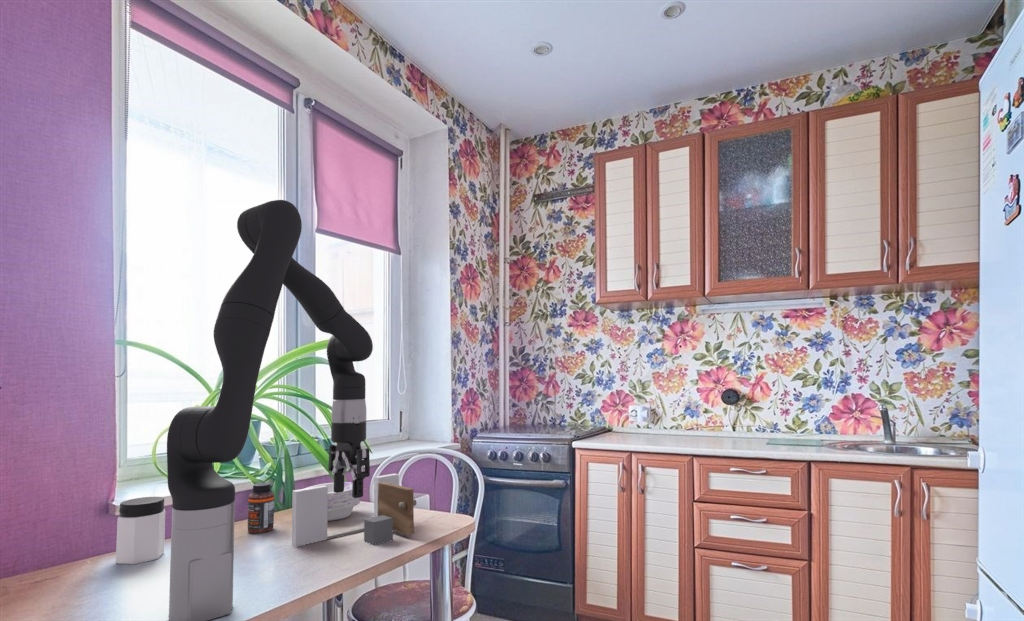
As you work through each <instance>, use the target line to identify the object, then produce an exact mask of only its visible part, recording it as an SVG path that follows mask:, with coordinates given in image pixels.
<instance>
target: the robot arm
mask: <svg viewBox="0 0 1024 621" xmlns="http://www.w3.org/2000/svg"><path fill="white" fill-rule="evenodd" d="M302 224H303V223H302V218H301V215H300V212H299V210H298V209H297V207H296V206H295V205H294V204H293V203H291V202H290V201H288V200H284V199H275V200H271V201H266V202H264V203H262V204H258V205H256V206H253V207H250V208H247V209H246V210H243V211H242V212H241V213H240V215H239V216H238V218H237V222H236V228H237V233H238V235H239V237H240V239H241V240H242V242H243V243H244V244H245V246H246V247H247V248H248V249H249V251H250V252H251V253H252V254H253V255H252V257H251V259H250V260H249V262H248V264H247V265H246V266H245V268H243V270H242V272H241V273H240V274H239V275H238V276H237V278H236V279H235V280H234V282H233V283H232V284H231V286H230V287H229V288H228V290H227V291H226V294H225V295H224V297H223V299H222V302H221V305H220V307H219V310H218V313H217V315H216V316H217V318H216V319H215V324H214V327H213V341H214V345H215V349H216V352H217V355H218V358H219V360H220V364H221V367H222V376H223V378H222V384H221V389H220V393H219V396H218V398H217V399H218V400H217V402H216V405H214V406H212V405H211V406H189V407H185V408H183V409H181V410H179V411H178V412H177V413H176V414H175V415H174V417H172V418H173V419H172V420H171V422H170V425H169V427H168V431H167V435H166V436H167V438H166V462H167V463H166V466H167V467H166V470H167V487H168V492H169V494H170V496H171V502H172V505H171V506H172V508H171V531H170V533H171V534H170V535H171V538H170V562H169V564H170V565H169V568H170V570H169V601H168V603H169V604H168V605H169V606H168V620H169V621H211V620H214V619H217V618H221V617H224V616H227V615H230V614H231V613H232V609H233V606H234V603H233V602H234V601H233V600H234V559H235V558H234V557H235V556H234V551H235V550H234V549H235V545H234V544H235V508H236V507H235V506H236V505H235V504H236V487H235V485H234V483H233V482H232V481H230V480H228V479H226V478H224V477H222V476H221V475H220V474H218V472H217V471H216V470H215V468H214V466H213V463H216V464H217V463H220V464H221V463H229V462H232V461H233V460H235V459H236V458H237V457H238V456H240V454H241V452H242V451H243V449H244V448H245V447H244V446H245V444H246V441H247V438H248V435H249V432H250V431H249V430H250V426H251V422H252V421H251V420H252V416H253V415H252V414H253V413H252V412H253V407H254V402H255V396H256V389H257V383H258V378H259V373H260V370H261V365H262V362H263V357H264V353H265V349H266V345H267V342H268V340H269V337H270V334H271V330H272V329H271V328H272V325H273V322H274V318H275V314H276V309H277V306H278V301H279V298H280V295H281V292H282V291H281V290H282V287H283V285H284V286H285V287H286V289H287V290H288V291H289V292H290V293H291V294H292V295H293V297H294V298H295V299H296V300H297V302H298V303H299V304H300V305H301V307H302V308H303V310H304V311H305V312H306V314H307V315H308V316H309V318H310V320H311V322H313V324H314V325H315V326H316V328H317V329H318V330H319V331H321V332H322V333H326V334H328V335H331V336H330V337H329V338H328V341H327V344H326V357H327V362H328V366H329V370H330V374H331V378H332V381H333V382H332V383H333V385H332V404H331V405H332V406H331V424H330V425H331V426H330V428H331V430H330V432H331V434H330V440H331V441H330V442H332V443H334V444H329V448H328V449H329V451H328V467H327V468H328V472H331V474H332V476H333V483H334V492H336V493H339V492H343V491H344V482H345V472H346V469H347V471H348V472H350V475H351V478H352V497H353V498H359V497H360V498H362V497H363V496H364V479H366V478H369V477H370V475H371V473H370V472H371V471H370V470H371V469H370V466H371V465H370V464H371V463H370V448H368V447H367V448H364V447H363V448H362V447H361V443H362V442H365V441H366V439H367V402H366V378H365V375H364V374H362V373H360V372H357V371H356V370H355V365H354V362H355V363H358V362H363V361H366V360H367V359H368V358H370V357H371V355H372V352H373V349H374V346H373V340H372V337H371V335H370V334H369V332H368V331H367V329H365V327H364V326H363V325H362V324H361V323H359V321H358V320H356V319H355V318H354V317H353V316H352V315H351V314H350V313H348V312H347V310H345V308H344V306H343V304H342V303H341V301H340V300H339V299H338V297H337V296H336V294H335V293H334V291H333V290H332V289H331V287H330V286H329V285H328V284H326V283H325V281H323V280H322V279H321V278H320V277H319V276H318V277H317V275H315V274H314V273H312V272H311V271H309V269H306V268H305V267H304V266H303V265H301V264H300V263H299V262H298V261H297V260H296V259H295V258H294V257H293V256H294V254H295V252H296V248H297V246H298V243H299V240H300V238H301V234H302V228H303V227H302Z"/></svg>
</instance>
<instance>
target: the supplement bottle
mask: <svg viewBox="0 0 1024 621" xmlns="http://www.w3.org/2000/svg"><path fill="white" fill-rule="evenodd" d="M247 503H248V504H247V532H248V533H250V534H264V533H268V532H271V531H272V530H274V522H275V521H274V520H275V518H274V517H275V515H274V513H275V493H274V491H272V490H271V483H270V482H257V483H254V484H253V485H252V492H251V493H250V494H249V495H248V501H247ZM263 532H264V533H263Z"/></svg>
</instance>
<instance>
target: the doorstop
mask: <svg viewBox="0 0 1024 621" xmlns="http://www.w3.org/2000/svg"><path fill="white" fill-rule="evenodd" d="M363 524H364V525H363V526H364V531H363V542H364V541H365V542H364V543H366V542H367V543H366V544H369V543H370V544H369V545H371V546H376V545H380V544H383V543H382V542H384V543H387V542H386V541H388V542H391V541H390V540H392V541H393V540H394V539H393V538H394V530H393V518H391V517H388V516H384V515H381V516H377V517H374V516H373V517H369V518H368V517H367V518H364V519H363ZM379 543H380V544H379ZM375 544H376V545H375Z"/></svg>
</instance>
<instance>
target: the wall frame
mask: <svg viewBox="0 0 1024 621" xmlns="http://www.w3.org/2000/svg"><path fill="white" fill-rule="evenodd" d="M378 482H386V483H390V484H394V485H399V486H400V474H398V473H389V474H383V475H378V476H373V492H374V493H373V517H377V516H378ZM291 499H292V502H291V503H292V505H291V506H292V507H291V508H292V509H291V511H292V512H291V513H292V514H291V546H293V547H295V548H298V547H302V546H307V545H311V544H314V542H315V543H319V542H322V540H323V541H326V540H325V539H328V540H330V538H332V539H335V538H334V537H336V538H339V537H338V536H340V537H343V535H344V536H348V535H347V534H349V535H351V534H352V533H353V534H357V533H360V532H361V533H362V532H364V525H362V526H358V527H357V526H356V527H353V528H348V529H344V530H341V531H340V530H339V531H335V532H332V533H328V521H327V511H328V486H324V485H323V486H317V487H311V488H307V487H305V489H304V488H302V489H301V488H299V489H295V490H294V489H293V490H292V498H291ZM356 532H357V533H356ZM353 534H352V535H353ZM318 541H319V542H318ZM310 543H311V544H310ZM306 544H307V545H306Z"/></svg>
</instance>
